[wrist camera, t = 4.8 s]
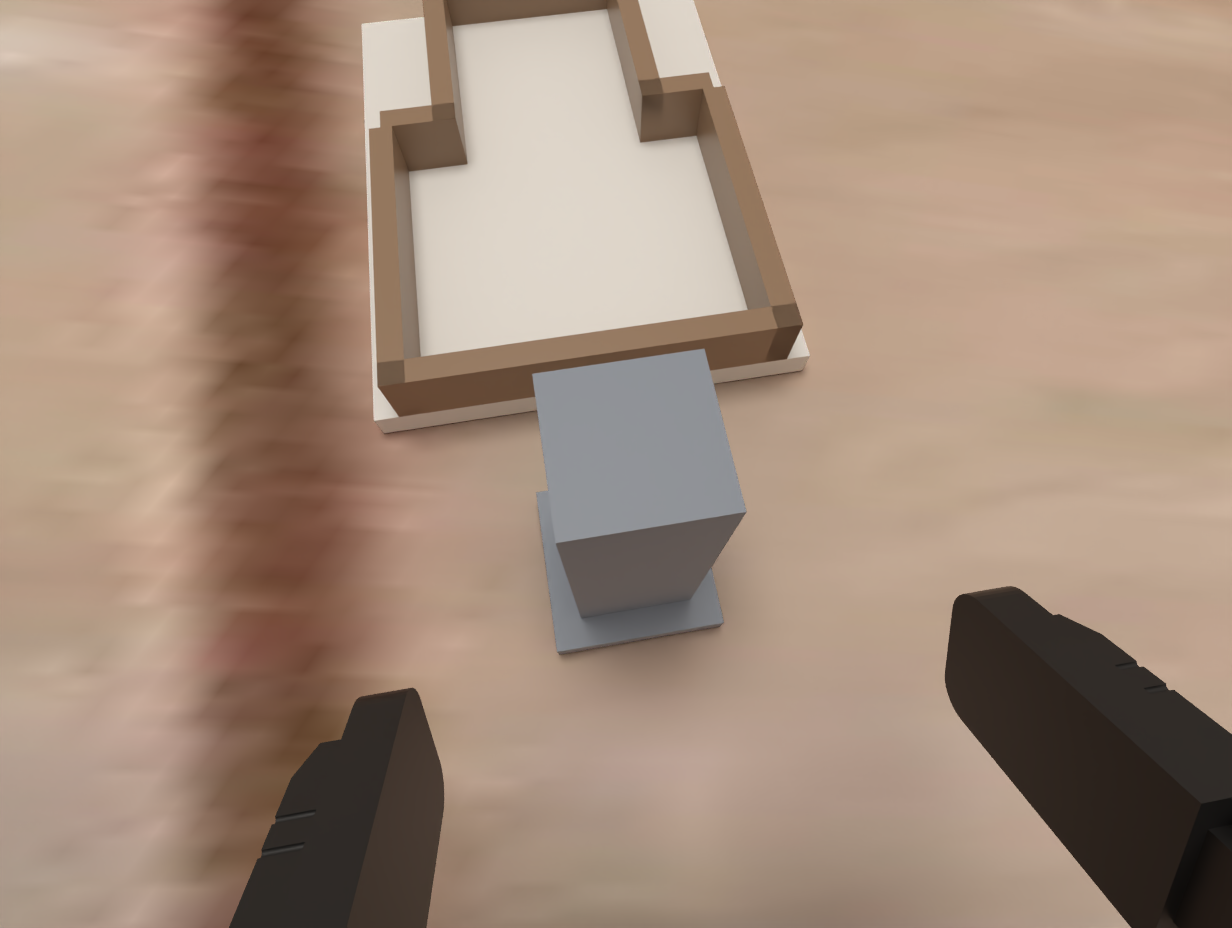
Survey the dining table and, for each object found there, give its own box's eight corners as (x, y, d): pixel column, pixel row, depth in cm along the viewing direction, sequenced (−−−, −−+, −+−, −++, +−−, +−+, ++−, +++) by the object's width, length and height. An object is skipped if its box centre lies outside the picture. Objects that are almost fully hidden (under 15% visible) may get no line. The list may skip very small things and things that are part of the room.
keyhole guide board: (384, 433, 26) (349, 390, 23) (369, 45, 35) (343, -27, 32) (802, 370, 28) (828, 320, 24) (686, 10, 36) (694, -64, 33)
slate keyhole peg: (559, 654, 23) (511, 600, 12) (539, 500, 25) (483, 342, 15) (719, 626, 24) (806, 550, 13) (685, 477, 26) (735, 306, 15)
